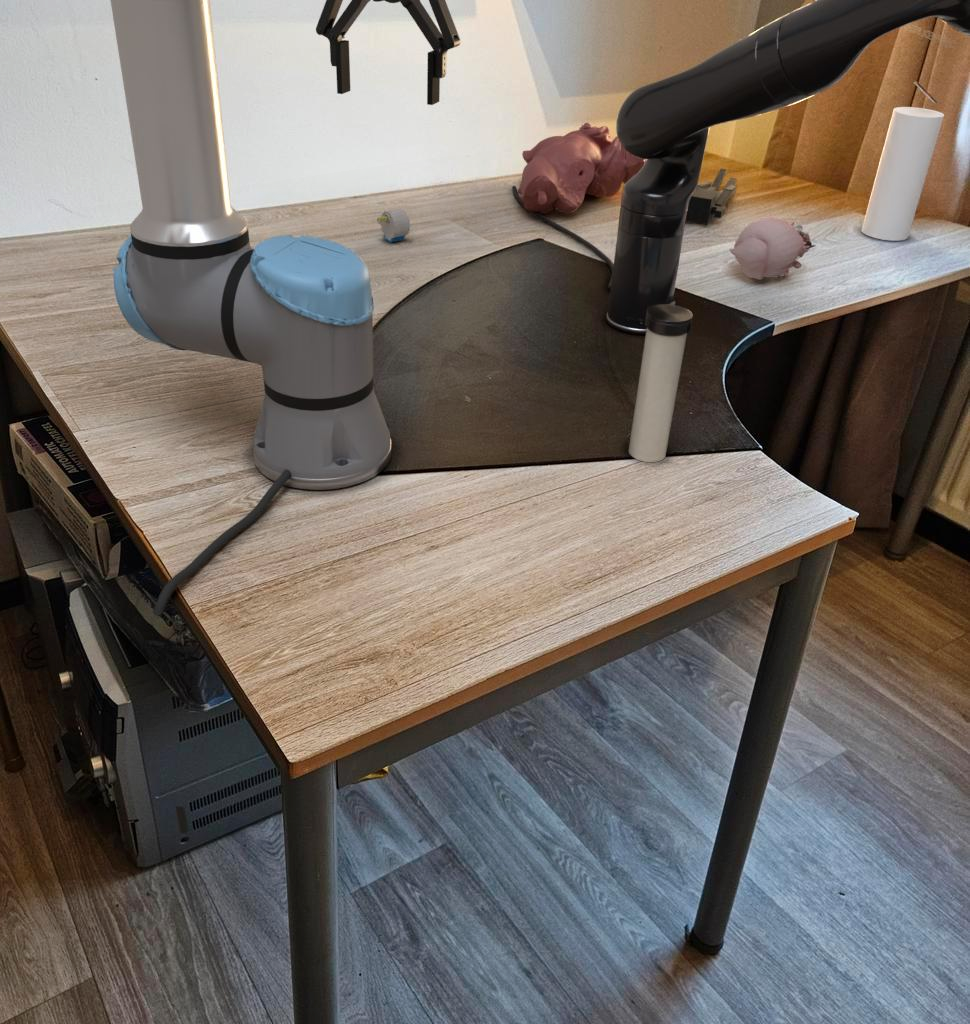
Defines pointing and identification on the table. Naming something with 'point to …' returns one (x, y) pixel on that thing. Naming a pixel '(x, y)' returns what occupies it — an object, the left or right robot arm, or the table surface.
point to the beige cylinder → (656, 395)
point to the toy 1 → (710, 199)
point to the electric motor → (394, 225)
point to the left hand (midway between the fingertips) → (388, 97)
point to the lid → (668, 319)
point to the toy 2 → (770, 247)
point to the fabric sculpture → (575, 169)
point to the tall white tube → (902, 168)
